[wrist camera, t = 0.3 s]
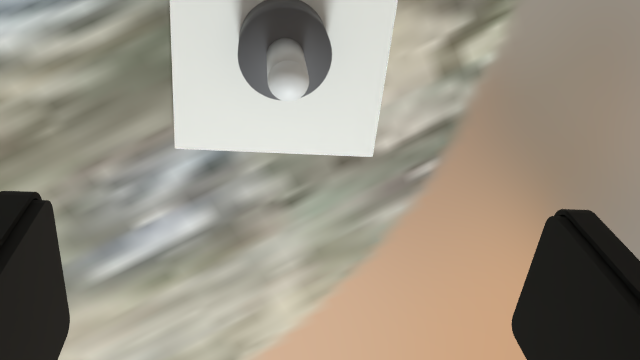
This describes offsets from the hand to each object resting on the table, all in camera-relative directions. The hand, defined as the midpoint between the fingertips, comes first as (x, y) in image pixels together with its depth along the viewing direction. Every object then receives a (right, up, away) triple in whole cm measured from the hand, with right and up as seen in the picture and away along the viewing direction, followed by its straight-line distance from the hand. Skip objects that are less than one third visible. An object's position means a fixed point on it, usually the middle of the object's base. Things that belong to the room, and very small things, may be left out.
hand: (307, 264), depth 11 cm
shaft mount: (-2, +11, +26) cm, 29 cm away
